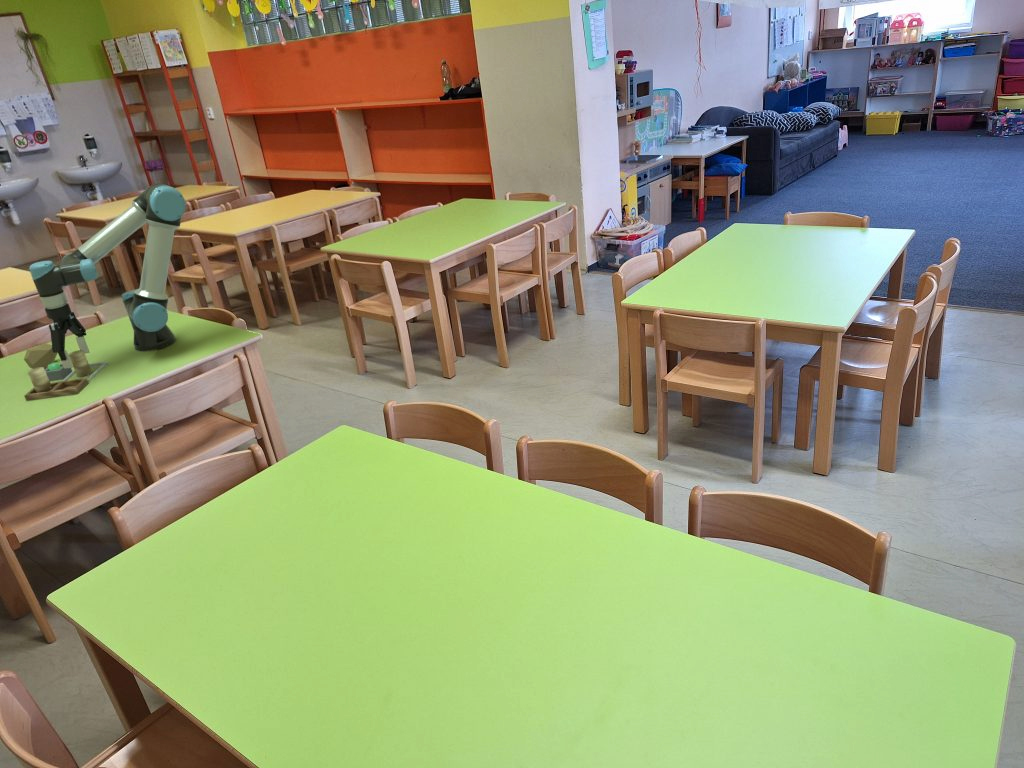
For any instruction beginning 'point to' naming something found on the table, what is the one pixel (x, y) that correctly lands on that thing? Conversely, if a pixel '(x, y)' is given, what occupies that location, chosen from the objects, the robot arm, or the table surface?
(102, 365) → the grey-green angled strip
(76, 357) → the billet
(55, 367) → the button
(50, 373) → the console
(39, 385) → the billet
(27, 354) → the low-poly potato
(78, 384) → the wooden divided tray
